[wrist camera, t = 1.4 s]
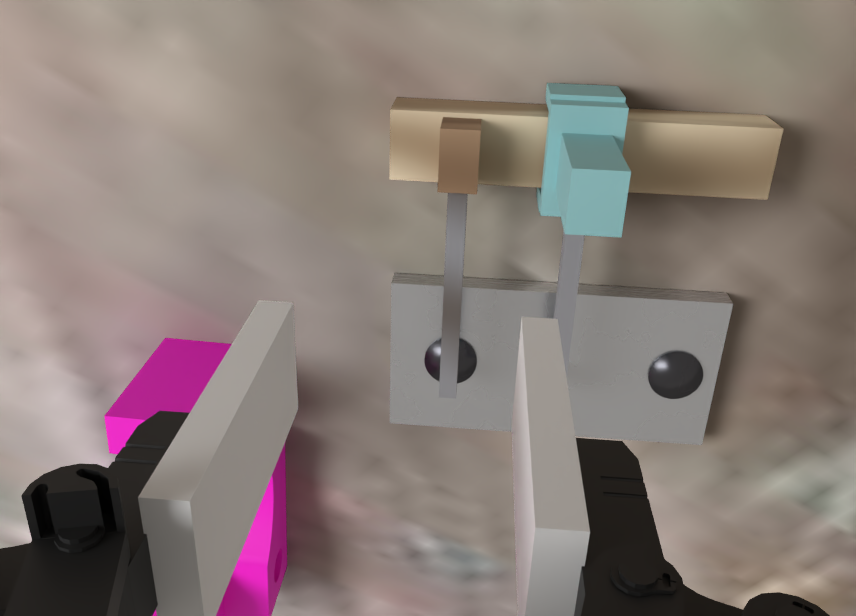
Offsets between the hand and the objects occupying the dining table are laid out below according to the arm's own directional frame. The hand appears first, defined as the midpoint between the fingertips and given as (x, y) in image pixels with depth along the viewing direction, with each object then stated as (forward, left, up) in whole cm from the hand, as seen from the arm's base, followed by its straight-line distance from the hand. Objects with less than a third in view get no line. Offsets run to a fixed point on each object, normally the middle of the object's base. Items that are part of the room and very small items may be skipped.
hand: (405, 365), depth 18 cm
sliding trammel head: (0, +8, -21) cm, 22 cm away
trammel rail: (0, +6, -21) cm, 21 cm away
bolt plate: (+11, +6, -21) cm, 24 cm away
